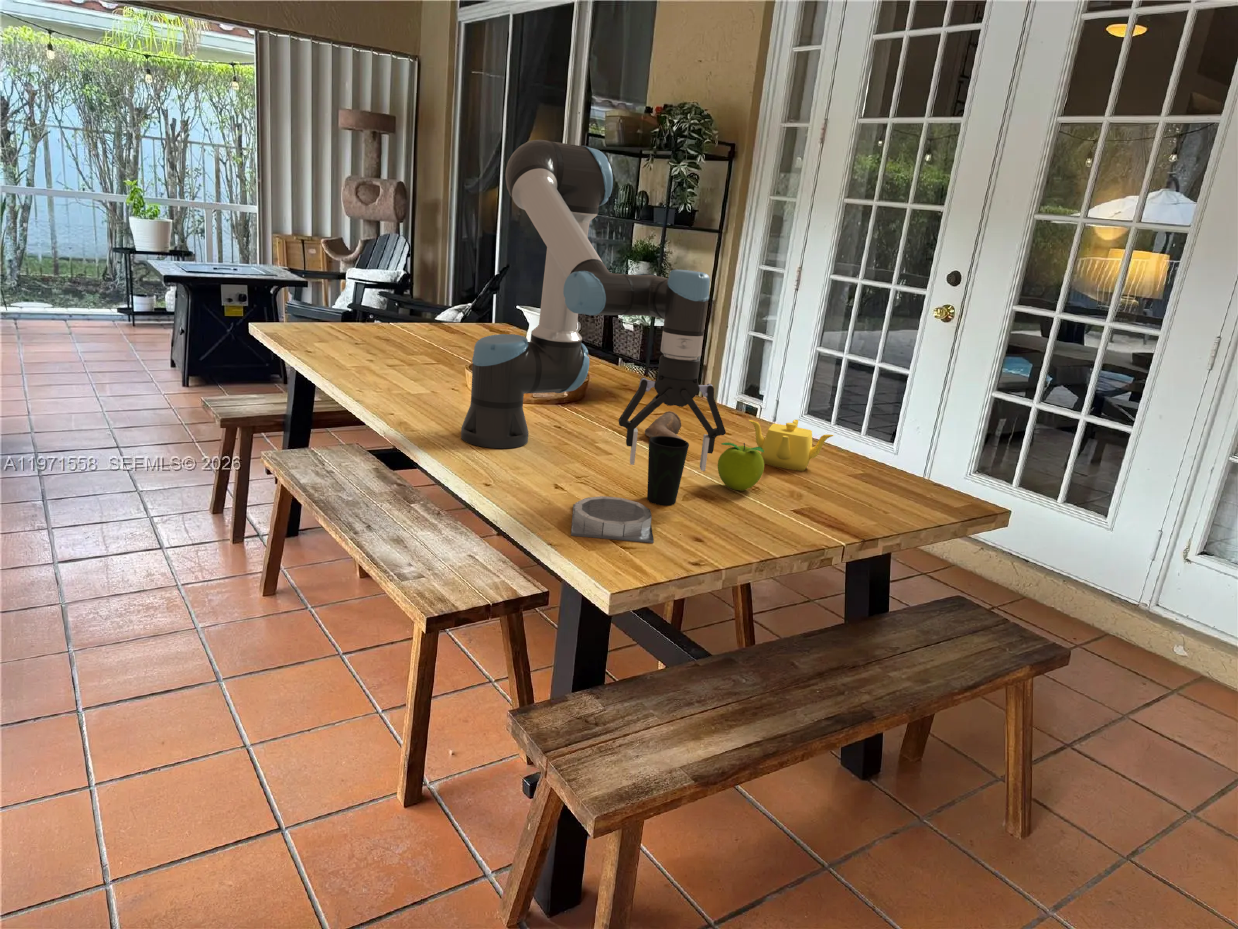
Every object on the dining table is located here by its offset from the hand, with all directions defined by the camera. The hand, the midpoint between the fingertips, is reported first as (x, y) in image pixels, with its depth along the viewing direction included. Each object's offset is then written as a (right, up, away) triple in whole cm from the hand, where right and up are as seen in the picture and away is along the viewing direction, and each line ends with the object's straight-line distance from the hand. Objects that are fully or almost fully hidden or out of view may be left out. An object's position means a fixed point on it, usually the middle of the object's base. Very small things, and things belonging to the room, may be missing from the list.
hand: (667, 466), depth 161 cm
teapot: (+30, 0, +38) cm, 48 cm away
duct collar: (-11, -10, -12) cm, 19 cm away
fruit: (+16, -5, +15) cm, 22 cm away
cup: (-1, -7, +2) cm, 7 cm away
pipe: (+3, +5, +45) cm, 45 cm away
